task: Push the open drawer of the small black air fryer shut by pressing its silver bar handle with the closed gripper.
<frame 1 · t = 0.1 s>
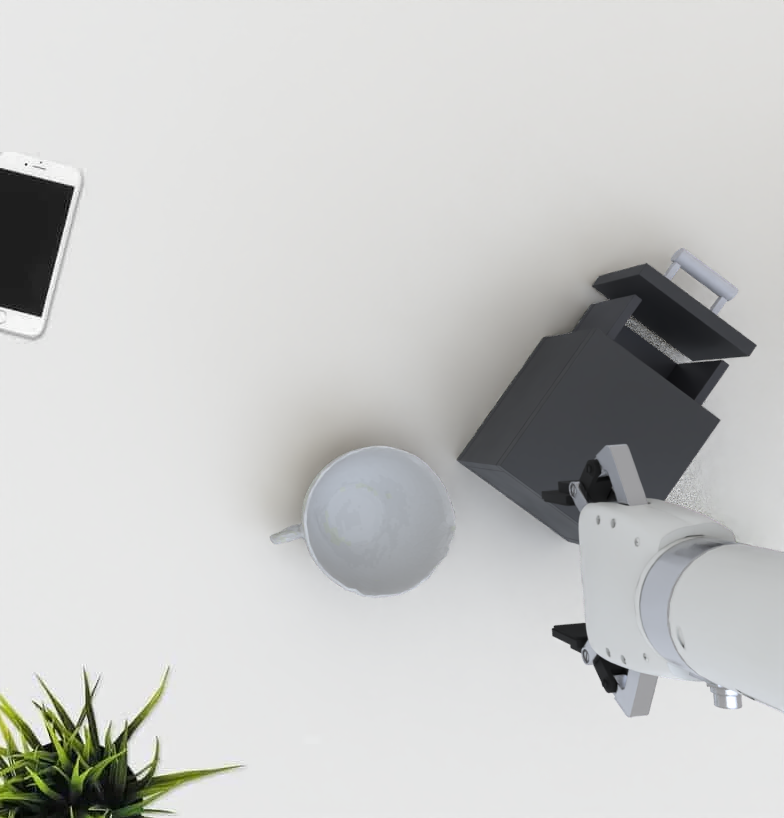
hand: (566, 561, 71), 19 cm above the table, tool pointing down, fingers open, 9 cm apart
air fryer: (555, 439, 91), on the table
fryer drawer: (647, 348, 86), point 5 cm above the table, slide at 6.0 cm
teacup: (341, 514, 90), on the table
snail figurine: (697, 571, 92), on the table
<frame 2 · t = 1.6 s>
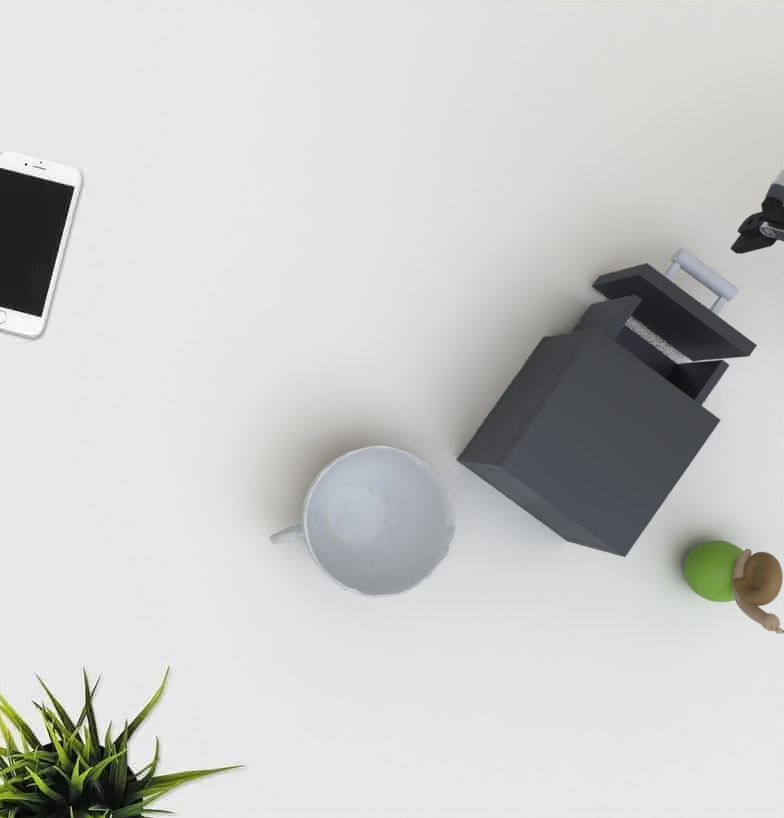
nothing on the table moved.
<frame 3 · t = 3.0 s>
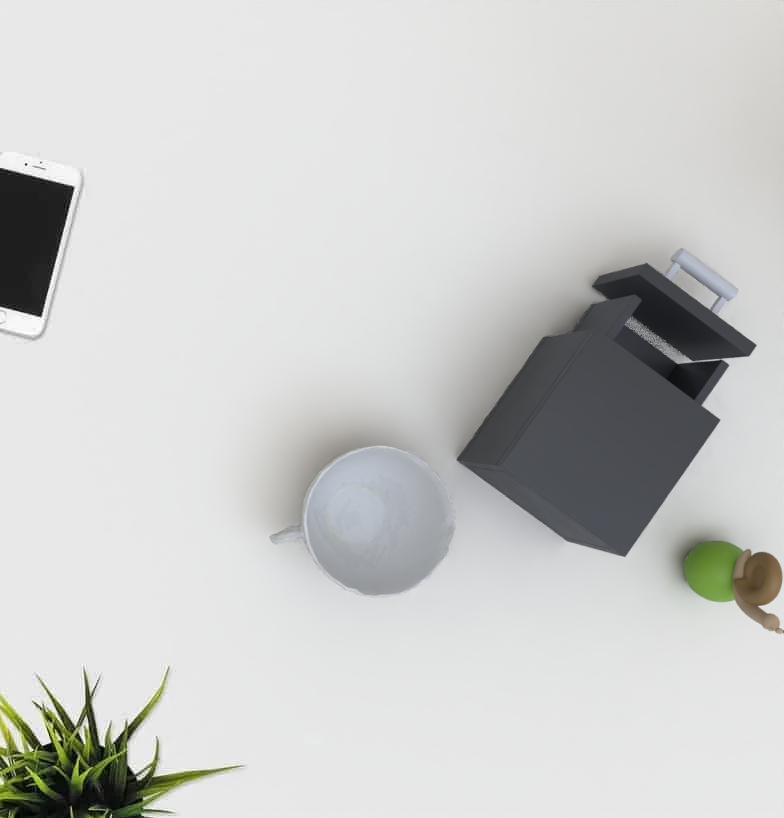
nothing on the table moved.
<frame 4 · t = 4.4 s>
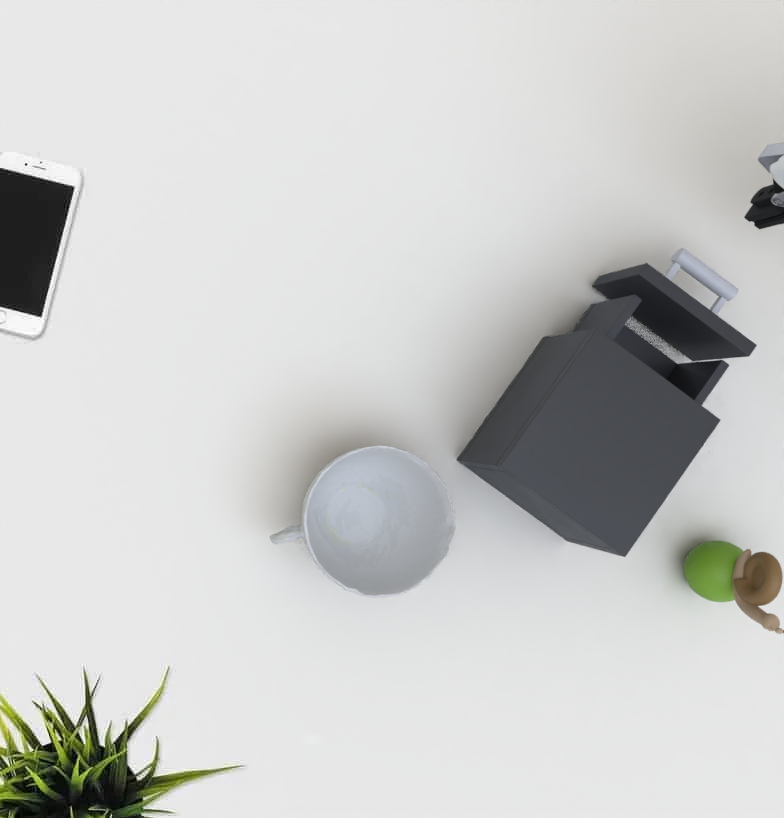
hand: (760, 209, 84), 8 cm above the table, tool pointing down, fingers closed
nothing on the table moved.
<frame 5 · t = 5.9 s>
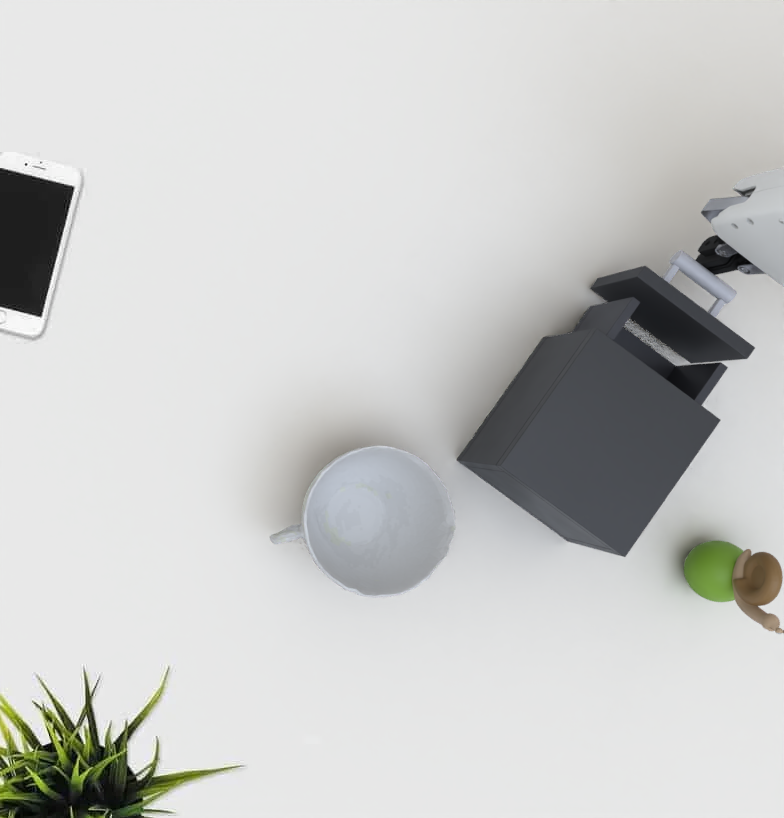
hand: (708, 257, 87), 5 cm above the table, tool pointing down, fingers closed
fryer drawer: (645, 350, 86), point 5 cm above the table, slide at 5.7 cm, touching gripper
everything else where it was.
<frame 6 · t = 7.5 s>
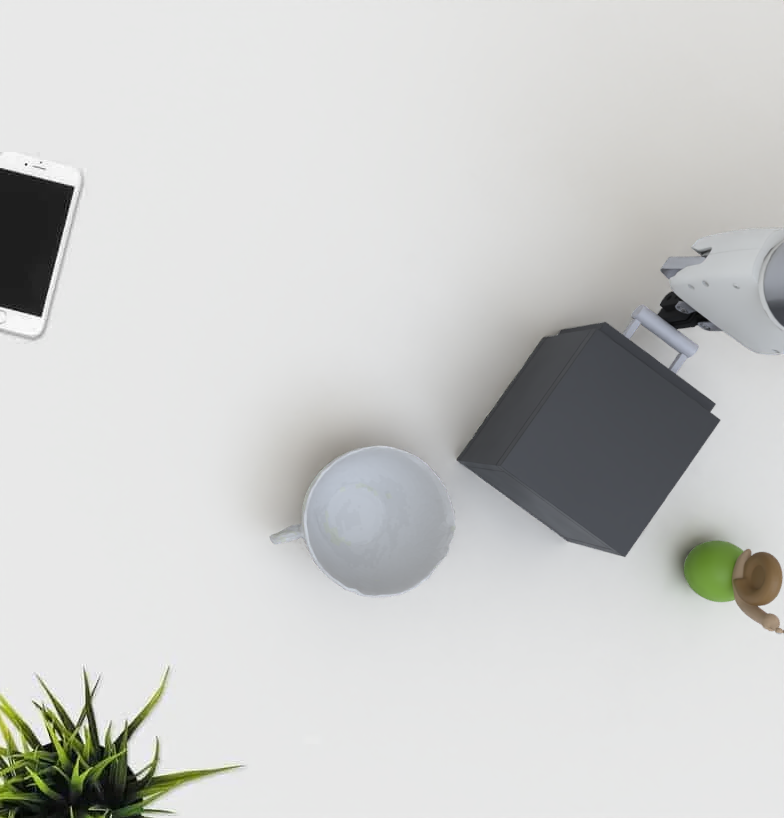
hand: (671, 310, 87), 5 cm above the table, tool pointing down, fingers closed
fryer drawer: (607, 404, 86), point 5 cm above the table, slide at 0.0 cm, touching air fryer, gripper
everything else where it was.
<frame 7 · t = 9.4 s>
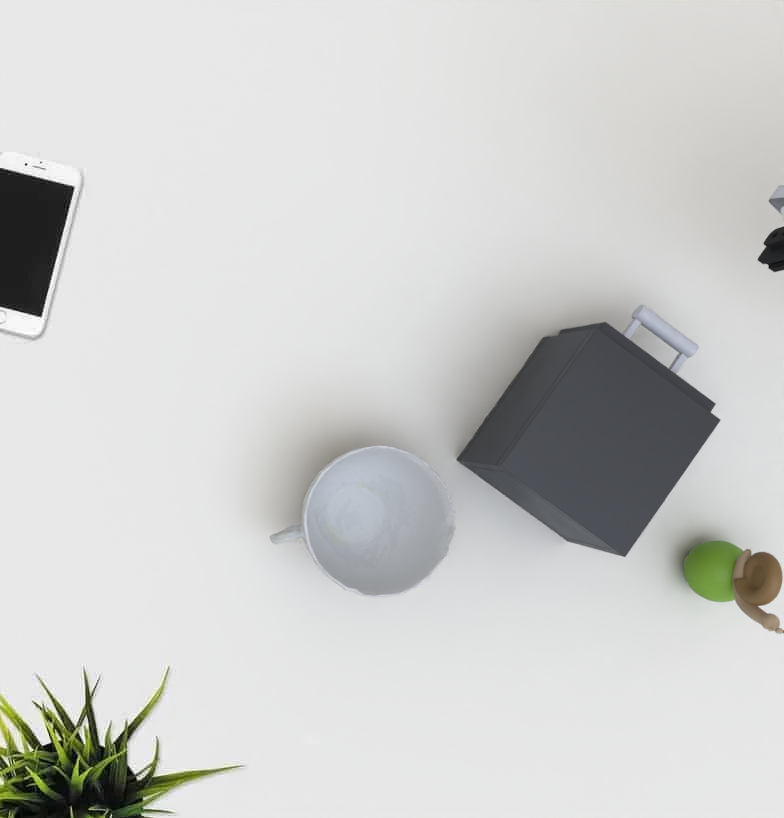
hand: (775, 250, 79), 13 cm above the table, tool pointing down, fingers closed
fryer drawer: (607, 404, 86), point 5 cm above the table, slide at 0.0 cm, touching air fryer
everything else where it was.
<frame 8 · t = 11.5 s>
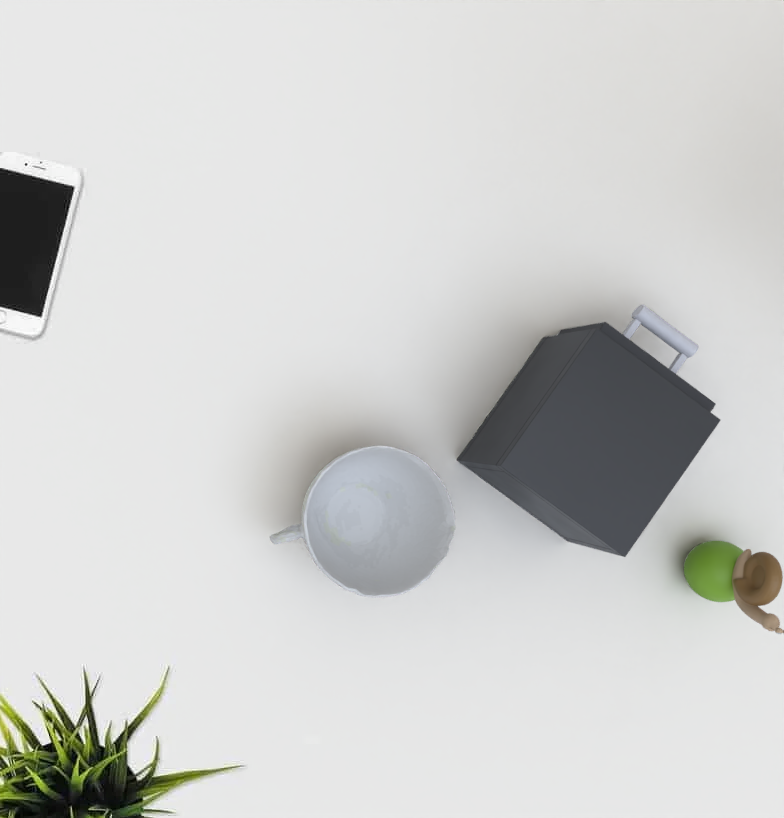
nothing on the table moved.
at the end: fryer drawer slide at 0.0 cm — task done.
